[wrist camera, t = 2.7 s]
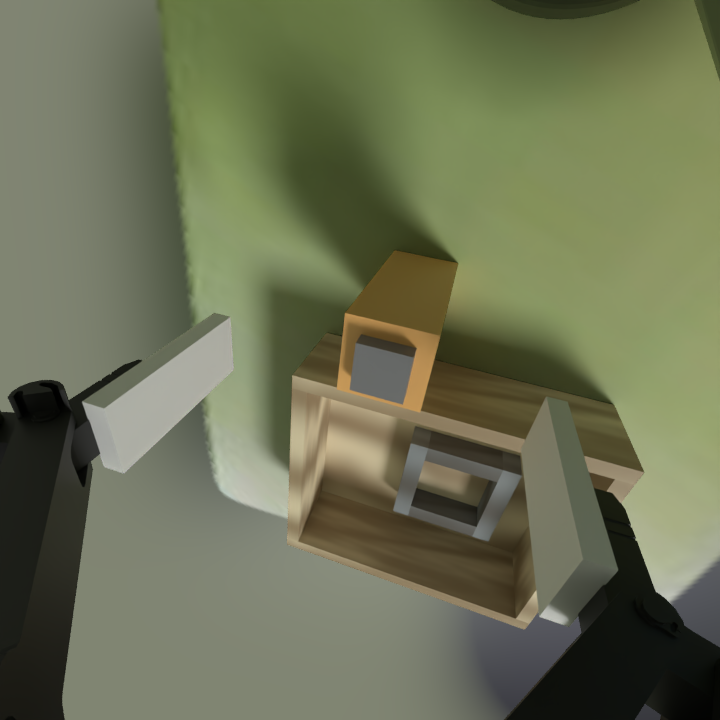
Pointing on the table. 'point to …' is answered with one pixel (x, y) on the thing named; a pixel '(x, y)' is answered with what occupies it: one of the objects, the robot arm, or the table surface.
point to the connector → (396, 330)
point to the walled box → (433, 480)
